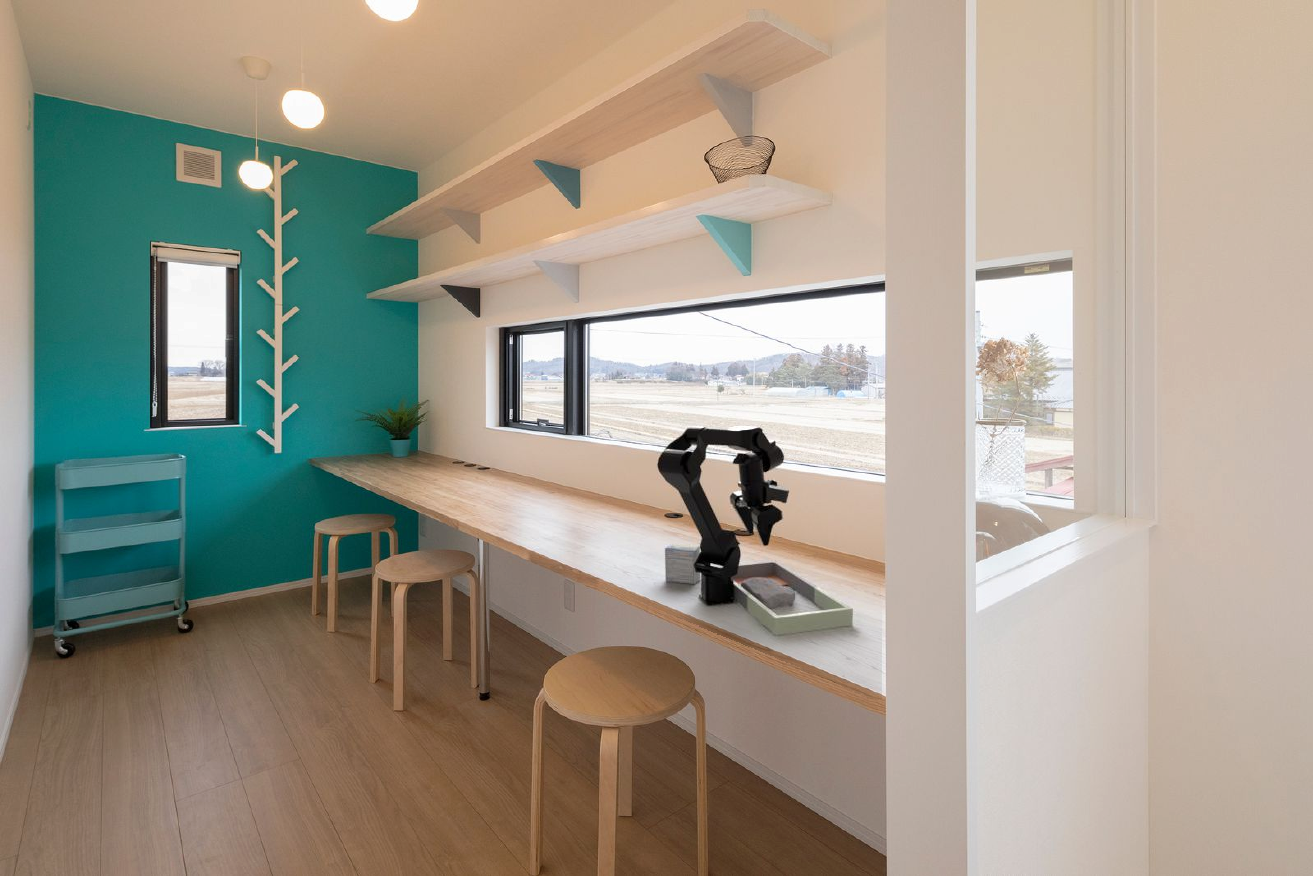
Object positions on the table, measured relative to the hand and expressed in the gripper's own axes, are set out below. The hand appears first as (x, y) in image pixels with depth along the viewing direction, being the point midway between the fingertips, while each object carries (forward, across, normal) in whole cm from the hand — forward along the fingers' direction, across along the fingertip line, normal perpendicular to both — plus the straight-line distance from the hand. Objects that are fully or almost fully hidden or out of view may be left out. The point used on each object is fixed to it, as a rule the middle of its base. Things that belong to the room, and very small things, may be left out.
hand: (758, 539), depth 160 cm
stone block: (+10, -13, +4) cm, 17 cm away
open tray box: (+9, -14, +3) cm, 17 cm away
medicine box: (+9, +6, +19) cm, 22 cm away
